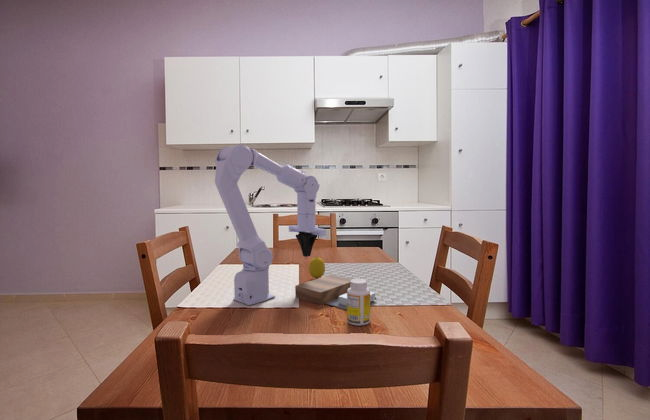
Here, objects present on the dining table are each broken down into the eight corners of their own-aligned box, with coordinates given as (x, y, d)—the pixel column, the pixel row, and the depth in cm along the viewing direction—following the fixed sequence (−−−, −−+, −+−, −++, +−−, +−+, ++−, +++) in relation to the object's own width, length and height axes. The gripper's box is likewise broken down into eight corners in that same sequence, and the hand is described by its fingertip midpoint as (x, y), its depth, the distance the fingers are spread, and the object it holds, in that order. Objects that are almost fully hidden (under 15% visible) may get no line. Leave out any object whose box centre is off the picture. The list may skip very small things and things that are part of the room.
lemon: (306, 278, 129) (306, 255, 129) (321, 276, 132) (320, 254, 131) (312, 282, 124) (312, 258, 124) (327, 280, 127) (327, 257, 126)
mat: (348, 310, 98) (348, 309, 98) (325, 303, 104) (325, 302, 104) (376, 298, 108) (376, 297, 108) (354, 292, 113) (354, 291, 113)
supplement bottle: (367, 317, 94) (367, 277, 93) (372, 326, 88) (372, 283, 87) (345, 318, 93) (345, 278, 92) (348, 327, 88) (349, 284, 87)
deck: (320, 304, 103) (320, 292, 102) (295, 297, 109) (295, 285, 109) (355, 291, 115) (355, 280, 114) (330, 285, 121) (330, 274, 121)
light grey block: (338, 296, 103) (338, 303, 103) (356, 301, 99) (356, 308, 99) (357, 288, 110) (357, 295, 110) (375, 292, 106) (375, 299, 106)
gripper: (332, 214, 116) (332, 257, 117) (299, 211, 126) (299, 251, 127) (316, 216, 111) (317, 261, 112) (283, 212, 121) (284, 254, 122)
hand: (306, 256), depth 119 cm, fingers closed
